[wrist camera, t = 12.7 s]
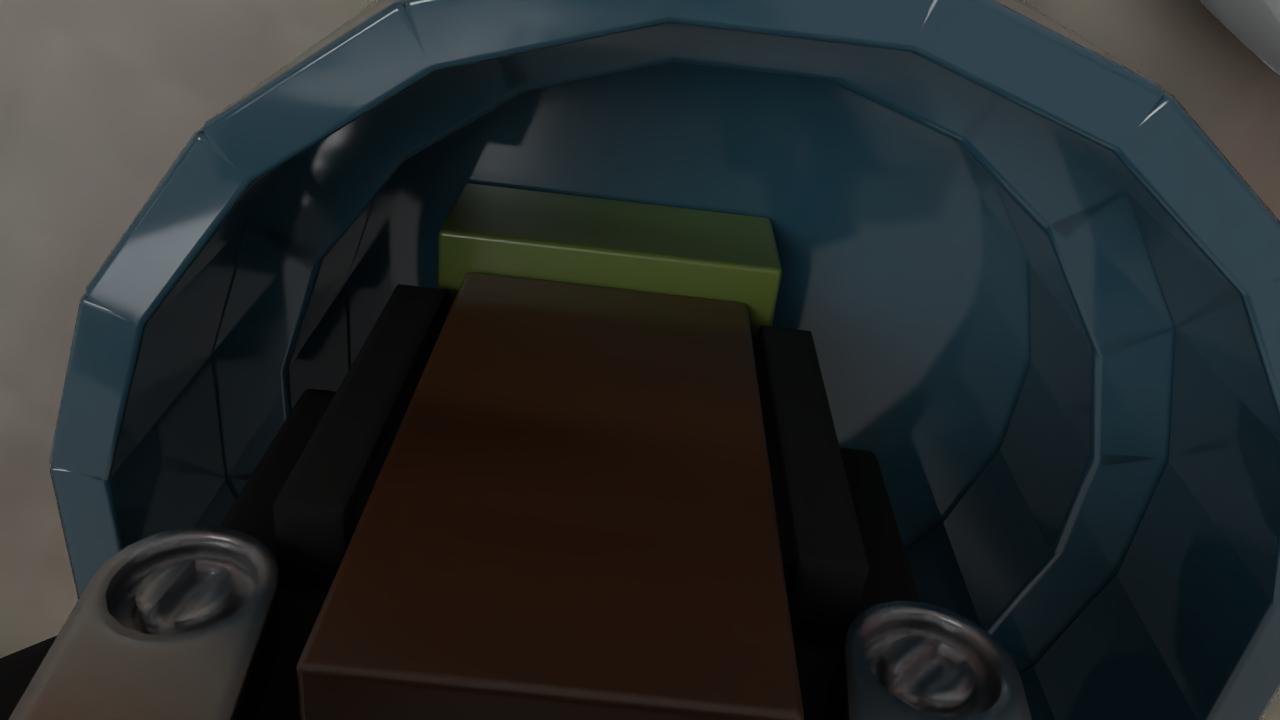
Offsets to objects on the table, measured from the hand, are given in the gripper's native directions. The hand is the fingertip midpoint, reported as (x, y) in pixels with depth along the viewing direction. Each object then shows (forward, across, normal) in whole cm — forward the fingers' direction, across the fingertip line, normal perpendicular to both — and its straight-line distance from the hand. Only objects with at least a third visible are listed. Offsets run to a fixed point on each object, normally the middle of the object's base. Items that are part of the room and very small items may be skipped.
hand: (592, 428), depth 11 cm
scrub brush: (+2, 0, 0) cm, 2 cm away
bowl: (+2, -1, 0) cm, 3 cm away
